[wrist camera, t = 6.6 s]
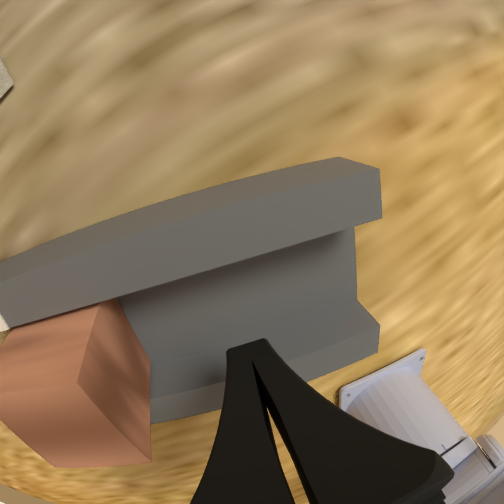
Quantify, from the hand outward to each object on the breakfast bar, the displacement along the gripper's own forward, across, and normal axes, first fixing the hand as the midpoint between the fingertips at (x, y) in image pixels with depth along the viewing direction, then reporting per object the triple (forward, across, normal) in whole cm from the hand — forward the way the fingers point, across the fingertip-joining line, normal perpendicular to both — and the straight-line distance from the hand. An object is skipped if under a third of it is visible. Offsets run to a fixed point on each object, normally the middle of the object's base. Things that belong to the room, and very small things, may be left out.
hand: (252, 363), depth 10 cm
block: (+4, +7, 0) cm, 9 cm away
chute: (+5, +3, 0) cm, 6 cm away
